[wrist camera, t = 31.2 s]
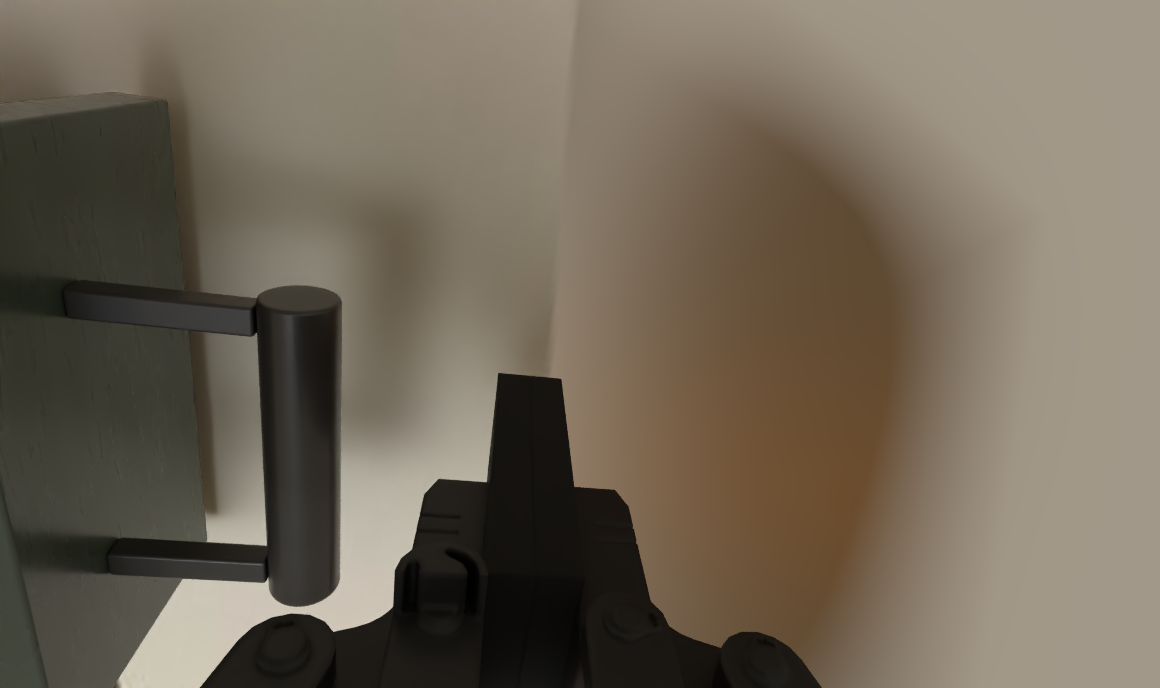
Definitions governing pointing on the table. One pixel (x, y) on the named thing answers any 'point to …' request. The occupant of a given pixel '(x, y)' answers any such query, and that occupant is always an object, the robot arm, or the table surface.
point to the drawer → (134, 399)
